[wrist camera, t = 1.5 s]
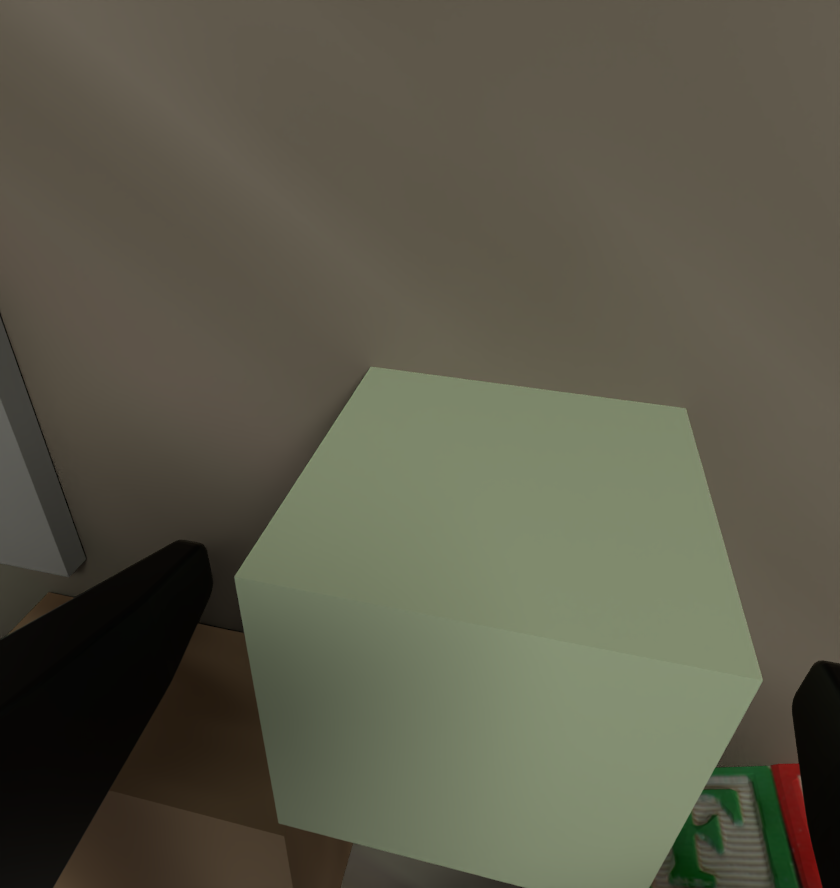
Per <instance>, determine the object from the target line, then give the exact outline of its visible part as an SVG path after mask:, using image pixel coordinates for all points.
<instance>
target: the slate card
mask: <svg viewBox="0 0 840 888" xmlns="http://www.w3.org/2000/svg"><path fill="white" fill-rule="evenodd" d="M85 560H86V558H85V555H84V552H83V549H82V546H81V543H80V541H79V538H78V535H77V532H76V529H75V527H74V524H73V521H72V518H71V515H70V512H69V510H68V507H67V504H66V501H65V498H64V495H63V493H62V490H61V487H60V484H59V481H58V478H57V476H56V473H55V470H54V467H53V464H52V462H51V459H50V456H49V453H48V450H47V447H46V445H45V442H44V439H43V436H42V433H41V430H40V428H39V425H38V422H37V419H36V416H35V414H34V411H33V408H32V405H31V402H30V399H29V397H28V394H27V391H26V388H25V385H24V382H23V380H22V377H21V374H20V371H19V368H18V365H17V363H16V360H15V357H14V354H13V351H12V349H11V346H10V343H9V340H8V337H7V334H6V332H5V329H4V326H3V323H2V320H1V317H0V563H1V564H6V565H11V566H16V567H21V568H26V569H31V570H36V571H40V572H45V573H50V574H55V575H60V576H65V577H70V576H71V575H72V574H73V573H74V571H75V570H76V569H77V568H78V567H79V566H80V565H81V564H82V563H83V562H84V561H85Z"/></svg>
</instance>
